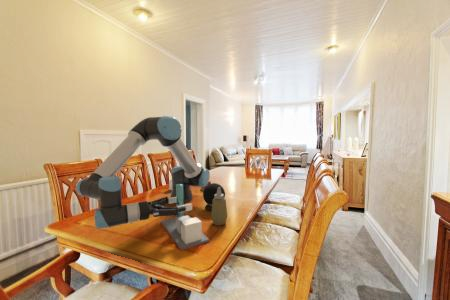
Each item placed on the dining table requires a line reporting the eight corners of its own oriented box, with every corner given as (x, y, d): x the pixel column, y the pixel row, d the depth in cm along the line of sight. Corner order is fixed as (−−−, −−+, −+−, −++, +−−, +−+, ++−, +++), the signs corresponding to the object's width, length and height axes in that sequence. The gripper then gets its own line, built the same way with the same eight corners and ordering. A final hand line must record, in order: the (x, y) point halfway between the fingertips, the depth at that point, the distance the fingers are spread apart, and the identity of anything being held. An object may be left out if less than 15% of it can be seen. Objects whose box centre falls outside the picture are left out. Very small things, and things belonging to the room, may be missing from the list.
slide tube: (176, 225, 98) (175, 184, 96) (182, 223, 99) (181, 183, 98) (188, 239, 84) (187, 192, 83) (195, 237, 86) (194, 191, 84)
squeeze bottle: (221, 228, 97) (221, 190, 96) (208, 224, 102) (207, 188, 100) (230, 221, 104) (230, 186, 103) (217, 218, 109) (216, 184, 107)
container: (182, 188, 171) (182, 172, 170) (177, 190, 164) (177, 174, 163) (174, 187, 173) (174, 172, 172) (169, 190, 166) (168, 174, 165)
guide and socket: (161, 222, 105) (160, 205, 104) (183, 217, 111) (183, 201, 110) (181, 250, 79) (180, 228, 78) (209, 241, 85) (208, 221, 85)
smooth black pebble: (222, 203, 132) (222, 180, 131) (227, 211, 119) (227, 185, 118) (201, 205, 129) (201, 181, 128) (204, 213, 116) (204, 187, 115)
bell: (208, 192, 158) (208, 183, 157) (197, 190, 166) (197, 181, 165) (218, 189, 167) (218, 180, 166) (207, 187, 174) (207, 178, 174)
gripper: (134, 211, 98) (178, 203, 109) (144, 232, 77) (197, 219, 87) (133, 195, 97) (177, 188, 108) (143, 212, 76) (196, 201, 87)
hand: (186, 202), depth 98 cm, fingers open, 13 cm apart
